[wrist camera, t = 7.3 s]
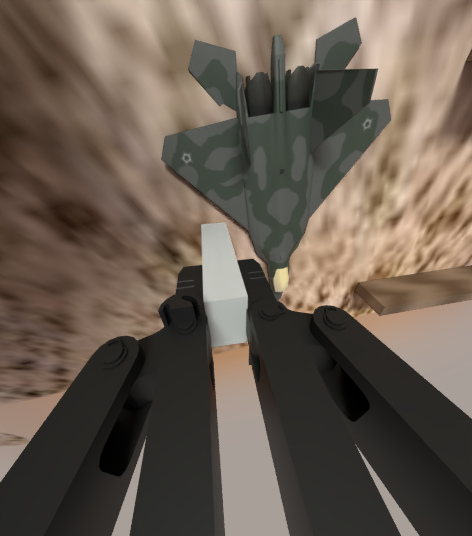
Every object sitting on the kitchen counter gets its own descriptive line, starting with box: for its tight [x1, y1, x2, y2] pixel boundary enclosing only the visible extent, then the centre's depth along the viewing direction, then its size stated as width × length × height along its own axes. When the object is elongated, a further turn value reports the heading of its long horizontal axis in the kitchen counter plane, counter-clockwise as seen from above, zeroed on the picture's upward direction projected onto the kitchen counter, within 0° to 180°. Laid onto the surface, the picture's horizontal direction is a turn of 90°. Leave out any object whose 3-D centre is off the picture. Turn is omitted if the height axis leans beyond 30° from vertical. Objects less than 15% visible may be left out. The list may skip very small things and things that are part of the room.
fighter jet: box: [161, 17, 391, 301], centre depth 13 cm, size 13×18×4 cm
